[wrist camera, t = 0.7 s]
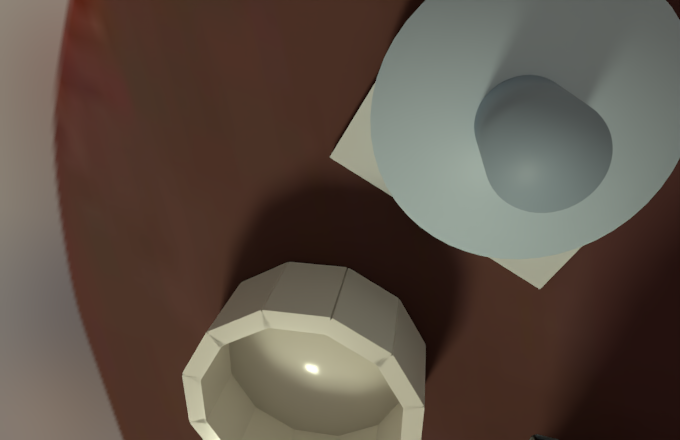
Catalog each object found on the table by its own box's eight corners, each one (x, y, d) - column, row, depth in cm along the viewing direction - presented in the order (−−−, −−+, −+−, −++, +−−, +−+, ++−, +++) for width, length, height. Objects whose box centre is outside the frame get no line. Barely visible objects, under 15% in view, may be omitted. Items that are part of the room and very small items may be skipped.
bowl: (468, 341, 22) (474, 403, 19) (353, 462, 26) (341, 531, 23) (275, 223, 21) (245, 265, 18) (190, 367, 26) (152, 424, 22)
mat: (745, 69, 16) (752, 71, 16) (537, 284, 20) (540, 289, 20) (490, -107, 15) (491, -110, 15) (331, 154, 20) (329, 157, 19)
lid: (762, 68, 16) (888, 95, 11) (540, 294, 20) (569, 375, 16) (490, -120, 15) (513, -169, 11) (322, 158, 19) (290, 204, 15)
